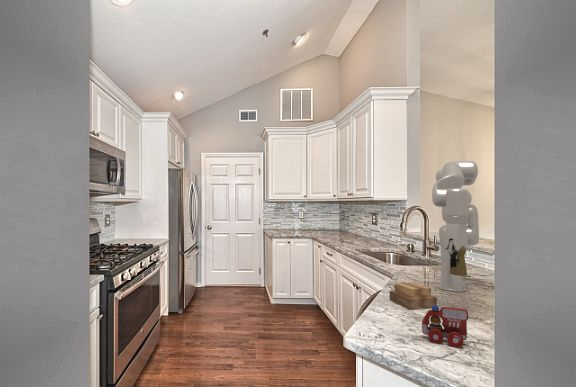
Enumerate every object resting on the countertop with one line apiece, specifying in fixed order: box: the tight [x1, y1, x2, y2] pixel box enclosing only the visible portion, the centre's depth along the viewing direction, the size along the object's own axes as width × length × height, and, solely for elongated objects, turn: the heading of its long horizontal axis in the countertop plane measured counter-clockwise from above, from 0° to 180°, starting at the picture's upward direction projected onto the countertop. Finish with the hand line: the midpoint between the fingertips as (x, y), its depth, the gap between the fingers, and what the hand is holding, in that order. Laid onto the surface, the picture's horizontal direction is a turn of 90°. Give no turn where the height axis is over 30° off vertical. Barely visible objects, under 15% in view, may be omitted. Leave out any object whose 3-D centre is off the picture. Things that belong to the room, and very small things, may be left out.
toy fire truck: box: [421, 304, 469, 348], centre depth 93 cm, size 7×12×10 cm, turn 64°
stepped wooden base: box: [389, 281, 438, 311], centre depth 129 cm, size 13×13×8 cm
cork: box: [450, 246, 468, 277], centre depth 119 cm, size 6×6×11 cm
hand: (456, 267), depth 119 cm, fingers closed on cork, 2 cm apart
